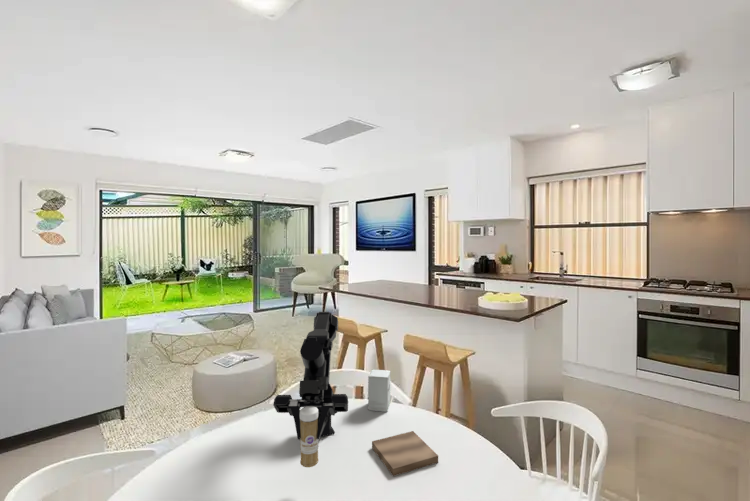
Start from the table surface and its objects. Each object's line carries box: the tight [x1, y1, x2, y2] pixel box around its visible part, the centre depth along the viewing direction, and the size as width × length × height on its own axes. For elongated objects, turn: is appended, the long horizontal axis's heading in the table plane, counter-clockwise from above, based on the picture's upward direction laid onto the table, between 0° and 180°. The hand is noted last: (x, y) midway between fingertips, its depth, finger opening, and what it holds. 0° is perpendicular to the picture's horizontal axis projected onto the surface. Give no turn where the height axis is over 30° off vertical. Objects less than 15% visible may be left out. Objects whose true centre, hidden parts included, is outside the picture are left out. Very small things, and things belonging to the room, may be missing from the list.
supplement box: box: [367, 369, 391, 413], centre depth 133 cm, size 7×7×13 cm
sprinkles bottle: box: [299, 406, 319, 468], centre depth 89 cm, size 5×5×13 cm
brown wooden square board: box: [371, 430, 439, 477], centre depth 103 cm, size 14×14×2 cm
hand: (308, 439), depth 88 cm, fingers closed on sprinkles bottle, 4 cm apart
